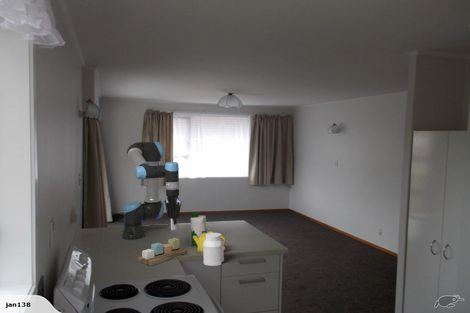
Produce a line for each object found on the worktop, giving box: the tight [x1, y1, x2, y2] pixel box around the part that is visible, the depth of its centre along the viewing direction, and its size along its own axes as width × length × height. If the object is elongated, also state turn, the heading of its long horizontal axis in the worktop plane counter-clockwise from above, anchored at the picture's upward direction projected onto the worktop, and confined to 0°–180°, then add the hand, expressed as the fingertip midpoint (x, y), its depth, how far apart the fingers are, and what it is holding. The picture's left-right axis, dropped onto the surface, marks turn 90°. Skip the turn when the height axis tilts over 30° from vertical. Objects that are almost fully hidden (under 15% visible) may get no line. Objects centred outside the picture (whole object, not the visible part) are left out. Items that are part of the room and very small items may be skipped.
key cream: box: [141, 248, 154, 259], centre depth 200 cm, size 5×5×5 cm
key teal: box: [150, 242, 164, 255], centre depth 205 cm, size 5×5×5 cm
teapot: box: [193, 231, 227, 254], centre depth 216 cm, size 20×12×12 cm, turn 73°
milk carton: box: [190, 212, 207, 247], centre depth 229 cm, size 9×9×20 cm
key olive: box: [167, 237, 181, 250], centre depth 214 cm, size 5×5×5 cm
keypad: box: [135, 247, 188, 267], centre depth 207 cm, size 14×25×2 cm, turn 139°
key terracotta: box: [163, 243, 172, 254], centre depth 210 cm, size 5×5×5 cm
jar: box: [202, 232, 225, 267], centre depth 197 cm, size 12×10×15 cm
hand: (173, 229), depth 213 cm, fingers closed
